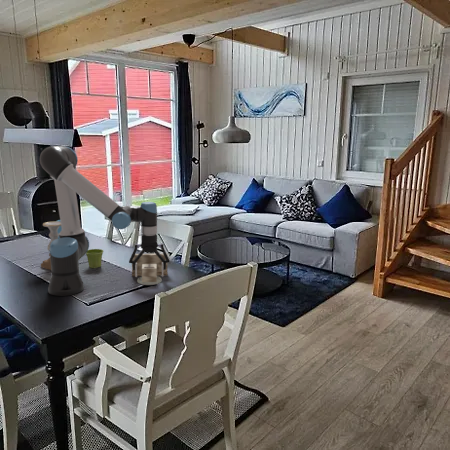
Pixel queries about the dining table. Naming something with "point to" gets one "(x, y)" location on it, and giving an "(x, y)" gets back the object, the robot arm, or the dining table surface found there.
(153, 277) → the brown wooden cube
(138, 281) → the sage mat
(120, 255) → the dining table surface
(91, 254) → the plant pot
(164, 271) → the birch screen
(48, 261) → the candle holder
